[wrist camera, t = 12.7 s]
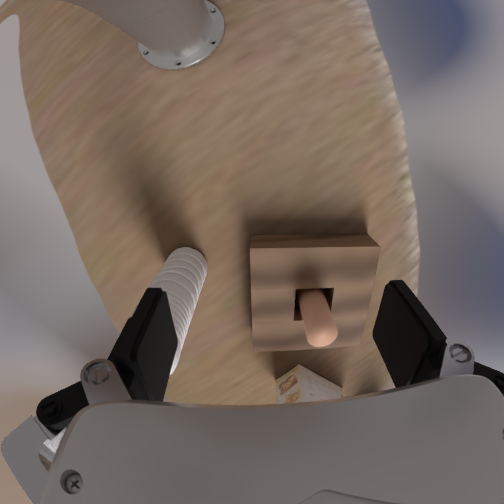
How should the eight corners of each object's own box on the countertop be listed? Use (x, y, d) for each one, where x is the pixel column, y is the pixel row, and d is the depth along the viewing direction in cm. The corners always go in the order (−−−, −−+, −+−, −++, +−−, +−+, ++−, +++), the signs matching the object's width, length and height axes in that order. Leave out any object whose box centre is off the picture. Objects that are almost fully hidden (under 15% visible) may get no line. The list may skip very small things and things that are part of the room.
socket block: (250, 235, 40) (249, 248, 36) (367, 234, 40) (380, 246, 35) (253, 332, 47) (252, 351, 43) (351, 327, 47) (359, 345, 42)
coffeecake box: (274, 380, 53) (278, 462, 35) (299, 362, 51) (311, 448, 33) (320, 403, 56) (332, 473, 39) (343, 387, 54) (362, 460, 36)
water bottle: (200, 241, 41) (142, 366, 18) (213, 279, 43) (177, 414, 20) (150, 254, 42) (67, 366, 19) (164, 289, 44) (104, 410, 21)
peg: (296, 276, 43) (308, 323, 32) (321, 276, 43) (340, 322, 32) (295, 298, 45) (305, 347, 34) (318, 297, 44) (335, 345, 33)
